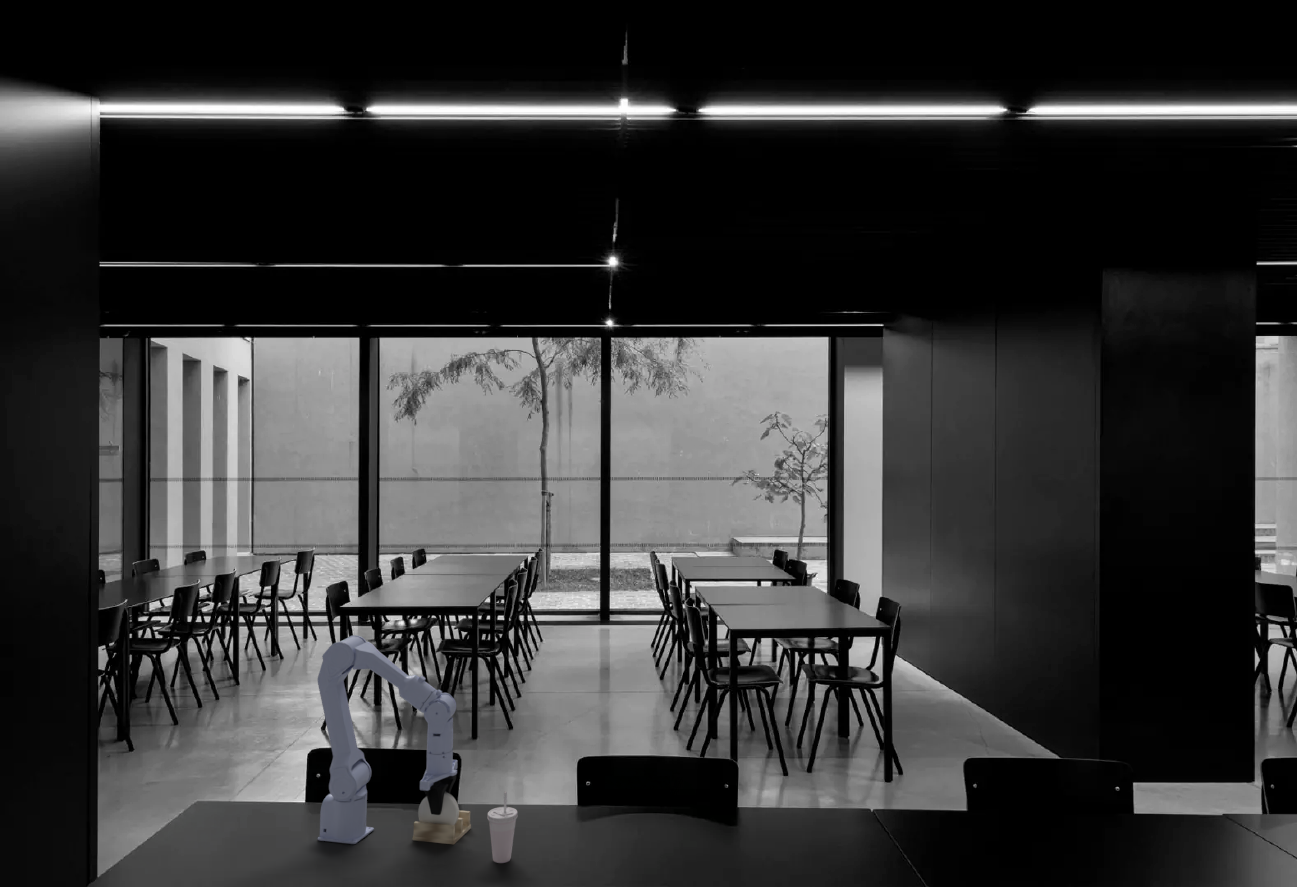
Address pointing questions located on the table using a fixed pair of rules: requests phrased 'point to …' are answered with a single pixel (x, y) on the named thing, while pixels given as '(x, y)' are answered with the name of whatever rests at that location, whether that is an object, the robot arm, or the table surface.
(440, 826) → the rack
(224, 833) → the table surface
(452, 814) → the plate
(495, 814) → the smoothie
